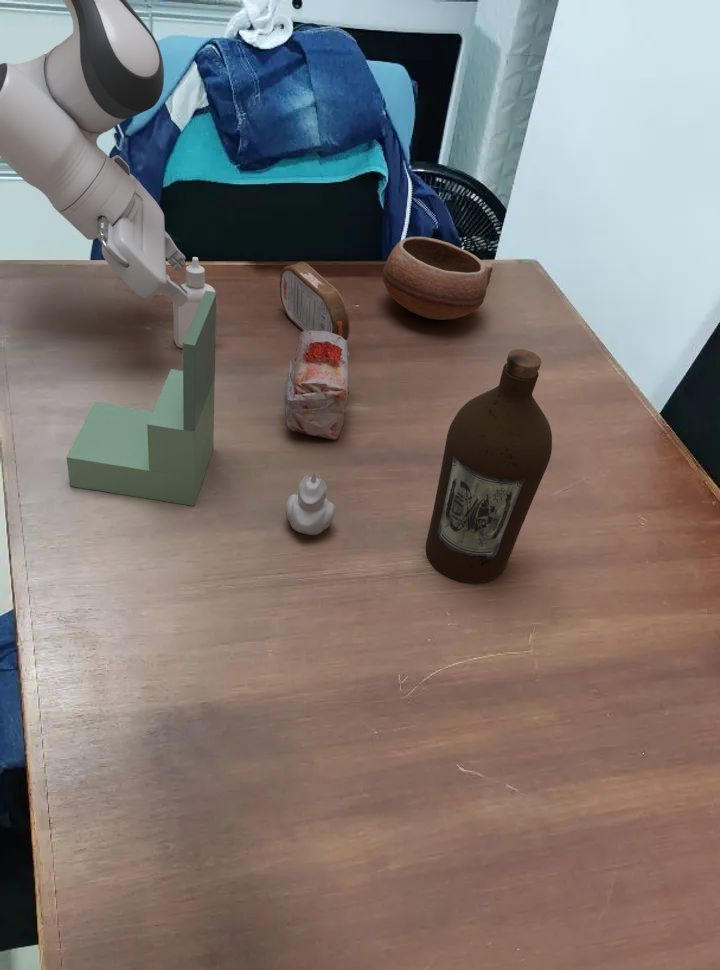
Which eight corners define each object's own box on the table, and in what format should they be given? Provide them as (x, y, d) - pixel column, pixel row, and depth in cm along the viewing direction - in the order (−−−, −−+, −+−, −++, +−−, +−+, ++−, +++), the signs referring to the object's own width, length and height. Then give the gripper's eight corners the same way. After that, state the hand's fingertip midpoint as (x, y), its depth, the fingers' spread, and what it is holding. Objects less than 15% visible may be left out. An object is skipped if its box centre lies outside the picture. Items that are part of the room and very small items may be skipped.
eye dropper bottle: (210, 355, 124) (212, 270, 115) (170, 347, 124) (168, 261, 115) (218, 339, 127) (221, 255, 118) (179, 331, 127) (178, 246, 118)
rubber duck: (278, 537, 101) (283, 479, 95) (292, 501, 106) (298, 444, 100) (325, 548, 101) (334, 491, 95) (338, 512, 105) (346, 455, 100)
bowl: (498, 319, 142) (514, 256, 135) (437, 350, 133) (451, 285, 126) (420, 278, 148) (432, 216, 141) (357, 305, 139) (366, 240, 132)
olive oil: (434, 513, 108) (484, 316, 89) (520, 542, 106) (589, 348, 88) (407, 568, 100) (456, 367, 82) (499, 600, 99) (569, 402, 81)
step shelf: (69, 486, 102) (49, 320, 87) (97, 430, 110) (83, 269, 95) (194, 506, 103) (195, 345, 88) (213, 449, 110) (216, 292, 96)
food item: (345, 447, 114) (355, 378, 107) (281, 441, 113) (287, 371, 106) (344, 387, 123) (353, 320, 116) (285, 381, 122) (291, 312, 115)
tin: (347, 357, 129) (355, 300, 122) (328, 361, 127) (335, 304, 121) (292, 306, 136) (296, 250, 130) (273, 309, 135) (277, 253, 129)
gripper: (116, 222, 102) (204, 307, 112) (119, 149, 116) (197, 231, 125) (78, 258, 105) (167, 339, 114) (86, 183, 118) (165, 261, 127)
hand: (183, 282), depth 119 cm, fingers open, 8 cm apart
